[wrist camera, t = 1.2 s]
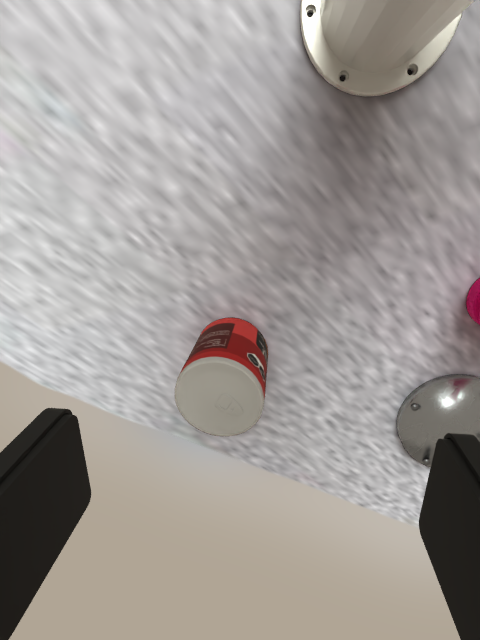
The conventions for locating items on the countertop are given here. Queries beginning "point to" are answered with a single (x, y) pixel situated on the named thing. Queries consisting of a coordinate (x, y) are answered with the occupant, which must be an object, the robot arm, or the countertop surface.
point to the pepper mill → (474, 302)
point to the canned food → (224, 379)
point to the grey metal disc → (439, 414)
